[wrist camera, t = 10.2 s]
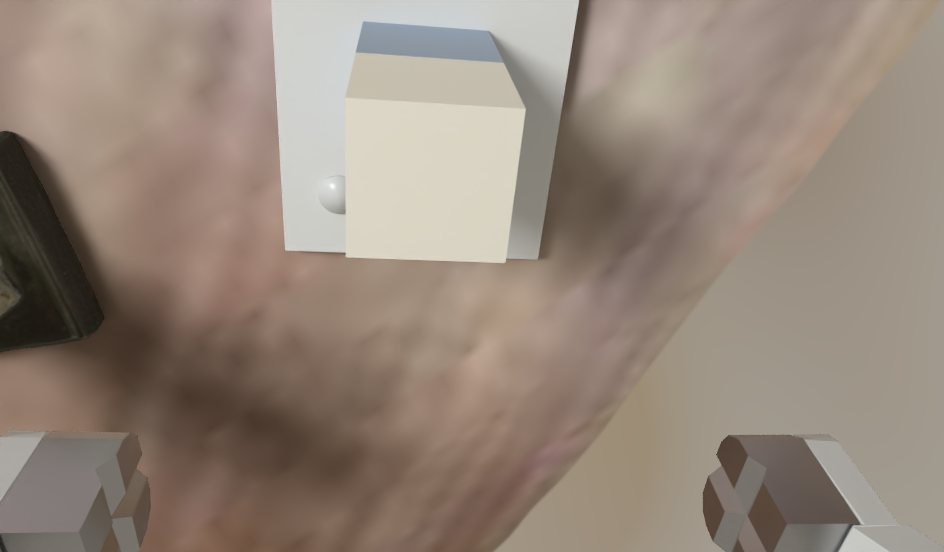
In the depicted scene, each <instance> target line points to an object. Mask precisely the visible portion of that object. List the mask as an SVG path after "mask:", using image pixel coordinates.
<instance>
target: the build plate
mask: <svg viewBox="0 0 944 552" xmlns="http://www.w3.org/2000/svg"><path fill="white" fill-rule="evenodd" d="M271 4H272V22H273V40H274V58H275V76H276V94H277V112H278V130H279V148H280V166H281V184H282V202H283V220H284V238H285V250H289V251H317V252H344V253H346V196H345V96H346V92H347V88H348V83H349V79H350V75H351V71H352V67H353V63H354V58H355V54H356V49H357V45H358V40H359V36H360V32H361V28H362V24H363V21H366V22H379V23H392V24H406V25H419V26H432V27H445V28H458V29H472V30H485V31H489V33H490V35H491V37H492V39H493V41H494V43H495V45H496V47H497V50H498V52H499V54H500V56H501V58H502V60H503V62H504V64H505V66H506V69H507V71H508V73H509V75H510V77H511V79H512V81H513V83H514V85H515V87H516V89H517V92H518V94H519V96H520V98H521V100H522V102H523V104H524V106H525V108H526V111H525V119H524V127H523V134H522V142H521V149H520V157H519V164H518V172H517V180H516V187H515V195H514V202H513V210H512V217H511V225H510V233H509V240H508V248H507V255H506V258H508V259H535V260H538V255H539V249H540V243H541V236H542V230H543V224H544V218H545V211H546V205H547V199H548V192H549V186H550V180H551V174H552V167H553V161H554V155H555V148H556V142H557V136H558V130H559V123H560V117H561V111H562V104H563V98H564V92H565V86H566V79H567V73H568V67H569V61H570V54H571V48H572V42H573V35H574V29H575V23H576V17H577V10H578V4H579V0H271Z"/></svg>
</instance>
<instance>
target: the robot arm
mask: <svg viewBox="0 0 944 552" xmlns="http://www.w3.org/2000/svg"><path fill="white" fill-rule="evenodd" d="M141 455H142V451H141V447H140V444H139V440H138V437H137V435H134V434H132V433H115V432H80V431H51V432H49V431H17V430H11V431H9V432H8V433H6V434H4V435H3V436H1V437H0V552H137V551H139V550H140V547H141V545H142V542H143V539H144V536H145V533H146V531H147V526H148V520H149V514H150V508H151V502H150V487H149V482H148V478H147V477H146V476H145V475H144V474H142V473H141V472H140V471H139V470H137V469H136V467H137V465H138V463H139V460H140V458H141ZM716 455H717V457H718V459H719V461H720V462H721V465H722V466H721V467H720V468H718V469H717V470H716V471H714V472H713V473H712V474H711V475H709V476H708V479H707V482H706V485H705V488H704V491H703V513H704V517H705V522H706V526H707V528H708V531H709V533H710V536H711V538H712V540H713V542H714V543H716V544H717V545H718V546H719V547H721V548H722V549H723V550H724V551H725V552H944V547H943V546H941V545H940V544H938V543H937V542H935V541H934V540H932V539H931V538H929V537H927V536H926V535H924V534H923V533H921V532H920V531H918V530H917V529H915V528H913V527H912V526H910V525H899V524H898V523H897V521H896V520H895V518H894V517H893V516H892V514H891V513H890V512H889V510H888V509H887V507H886V506H885V505H884V503H883V502H882V501H881V499H880V498H879V497H878V495H877V494H876V493H875V491H874V490H873V488H872V487H871V486H870V484H869V483H868V482H867V480H866V479H865V477H864V476H863V475H862V473H861V472H860V471H859V469H858V468H857V467H856V465H855V464H854V463H853V461H852V460H851V458H850V457H849V456H848V454H847V453H846V452H845V450H844V449H843V448H842V446H841V445H840V443H839V442H838V441H837V440H836V439H834V438H833V437H831V436H830V435H793V436H792V435H728V436H727V437H726V438H725V439H724V440H723V441H722V442H721V444H720V447H719V449H718V452H717V454H716Z"/></svg>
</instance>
